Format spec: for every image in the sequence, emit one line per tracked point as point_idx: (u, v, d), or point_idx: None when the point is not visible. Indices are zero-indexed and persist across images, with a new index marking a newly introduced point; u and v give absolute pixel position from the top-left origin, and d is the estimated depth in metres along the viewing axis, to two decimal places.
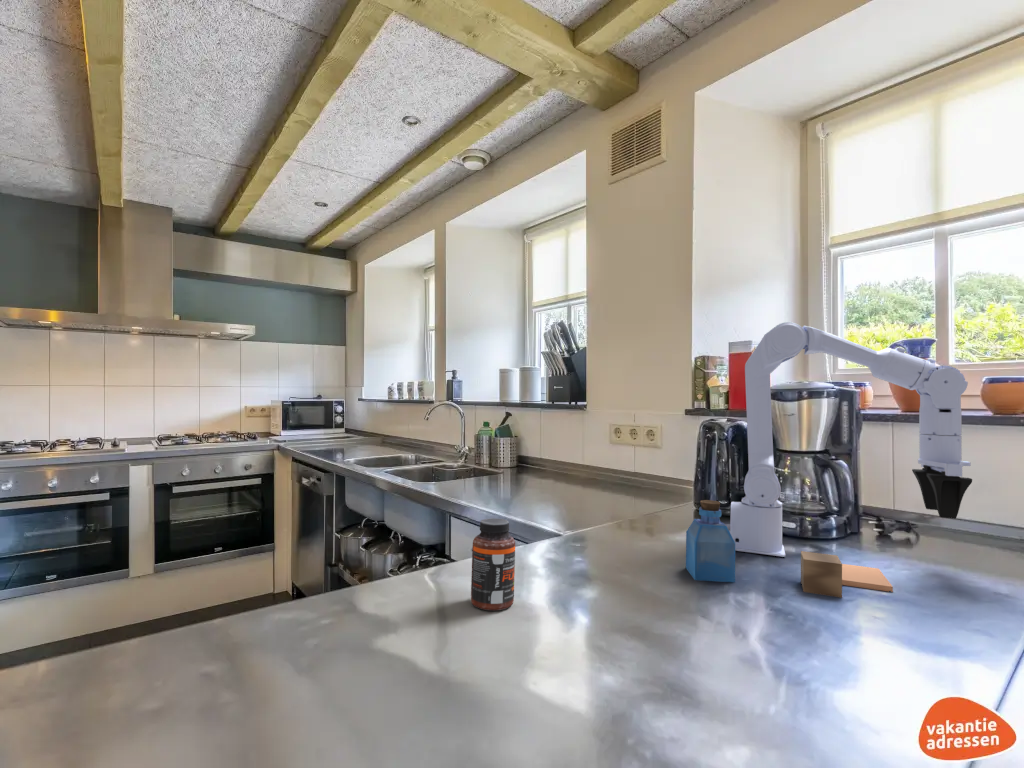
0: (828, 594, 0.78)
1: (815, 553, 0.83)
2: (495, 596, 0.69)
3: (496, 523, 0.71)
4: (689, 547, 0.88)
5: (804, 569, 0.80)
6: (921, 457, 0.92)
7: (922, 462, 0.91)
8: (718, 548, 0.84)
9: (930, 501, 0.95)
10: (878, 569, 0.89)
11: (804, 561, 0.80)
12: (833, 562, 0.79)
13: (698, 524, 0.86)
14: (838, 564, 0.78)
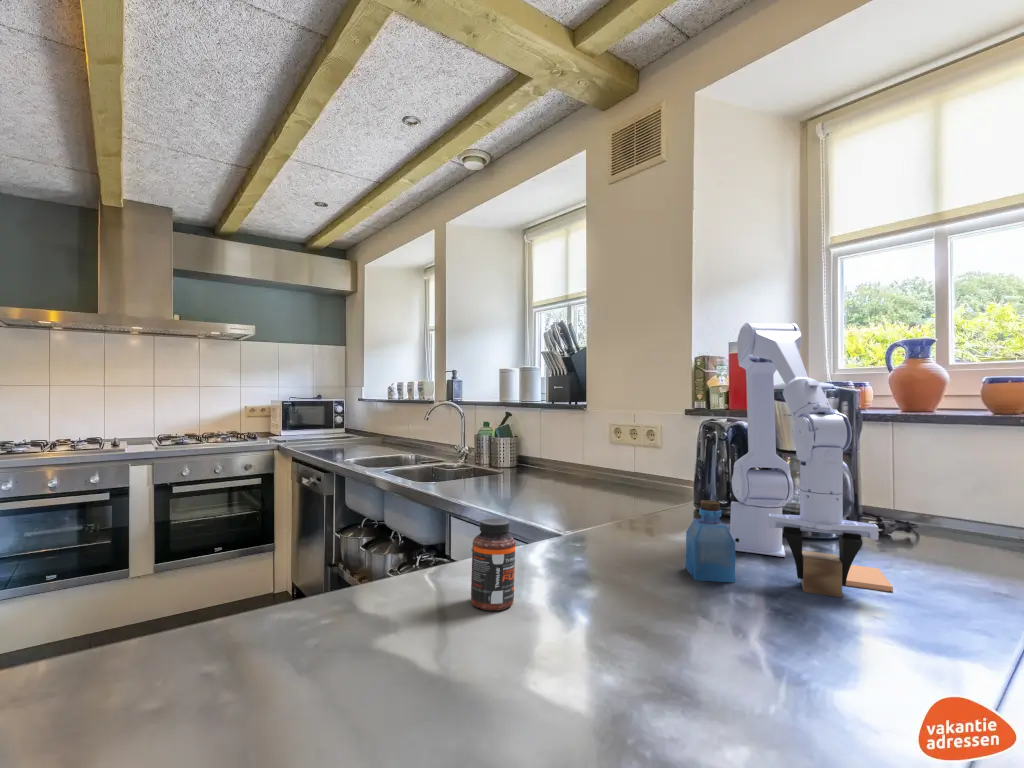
0: (828, 593, 0.78)
1: (815, 552, 0.83)
2: (495, 596, 0.69)
3: (496, 523, 0.71)
4: (689, 547, 0.88)
5: (804, 568, 0.80)
6: None
7: None
8: (718, 548, 0.84)
9: None
10: (878, 569, 0.89)
11: (804, 560, 0.80)
12: (833, 561, 0.79)
13: (698, 524, 0.86)
14: (838, 563, 0.78)
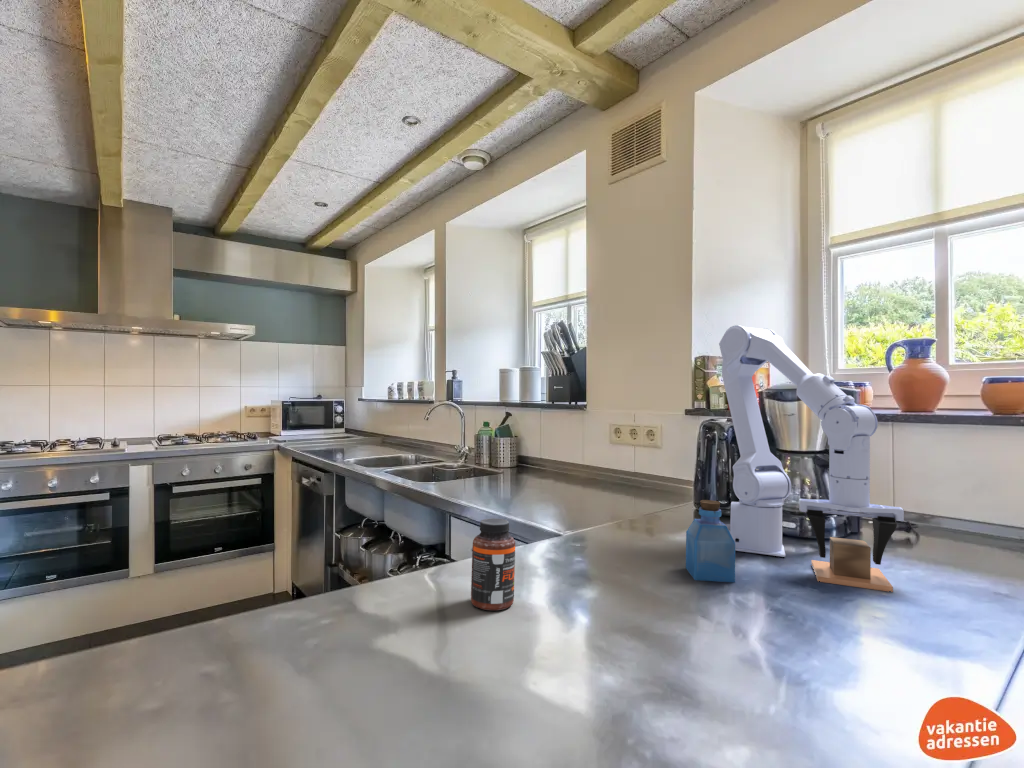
0: (857, 576, 0.84)
1: (843, 539, 0.89)
2: (495, 596, 0.69)
3: (496, 523, 0.71)
4: (689, 547, 0.88)
5: (834, 553, 0.86)
6: None
7: None
8: (718, 548, 0.84)
9: (873, 552, 0.86)
10: (878, 569, 0.89)
11: (834, 545, 0.86)
12: (862, 546, 0.84)
13: (698, 524, 0.86)
14: (867, 548, 0.84)
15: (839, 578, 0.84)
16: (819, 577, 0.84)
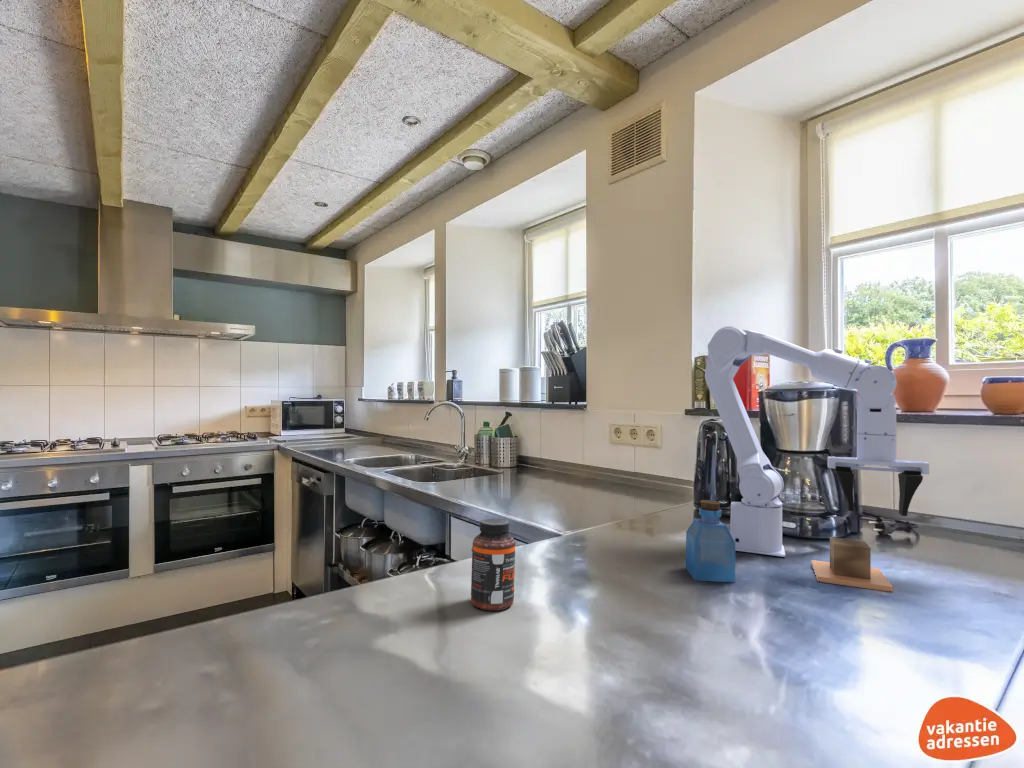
0: (857, 576, 0.84)
1: (843, 539, 0.89)
2: (495, 596, 0.69)
3: (496, 523, 0.71)
4: (689, 547, 0.88)
5: (834, 553, 0.86)
6: None
7: None
8: (718, 548, 0.84)
9: (900, 505, 0.91)
10: (878, 569, 0.89)
11: (834, 545, 0.86)
12: (862, 546, 0.84)
13: (698, 524, 0.86)
14: (867, 548, 0.84)
15: (839, 578, 0.84)
16: (819, 577, 0.84)
